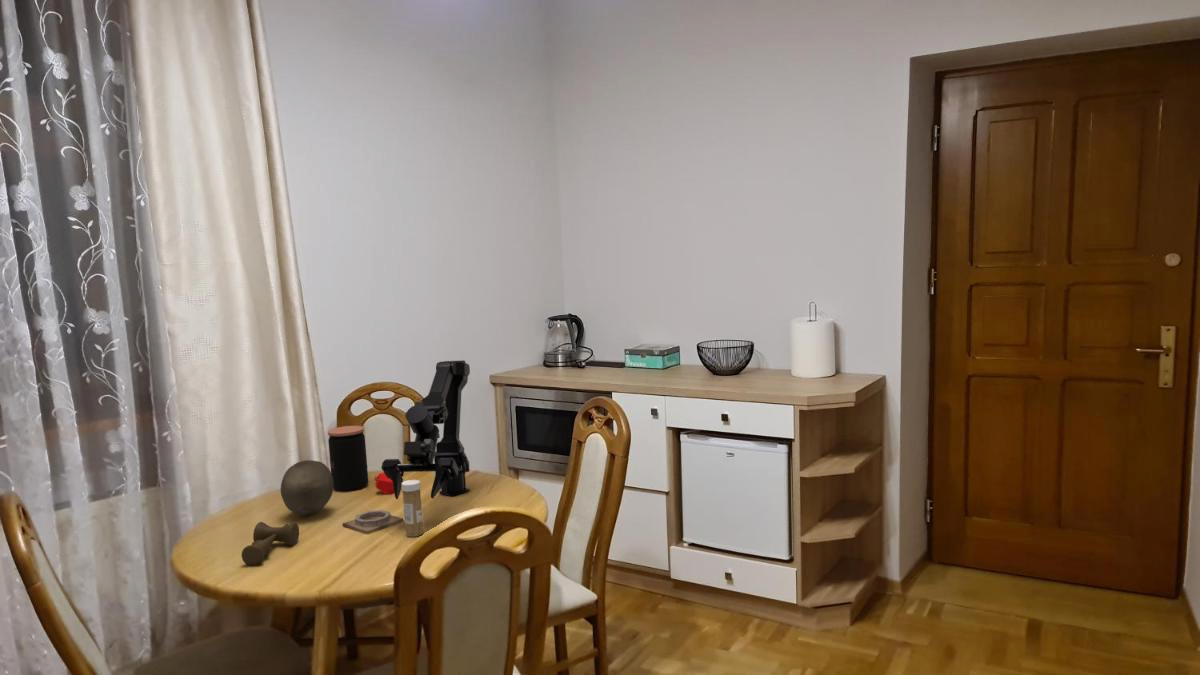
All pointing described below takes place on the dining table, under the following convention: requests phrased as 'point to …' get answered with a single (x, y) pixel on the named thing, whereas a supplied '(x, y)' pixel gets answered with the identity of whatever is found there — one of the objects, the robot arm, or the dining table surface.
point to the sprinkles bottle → (412, 508)
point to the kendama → (268, 541)
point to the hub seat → (372, 521)
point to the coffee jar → (348, 458)
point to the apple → (384, 484)
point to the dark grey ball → (307, 487)
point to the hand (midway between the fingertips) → (414, 498)
